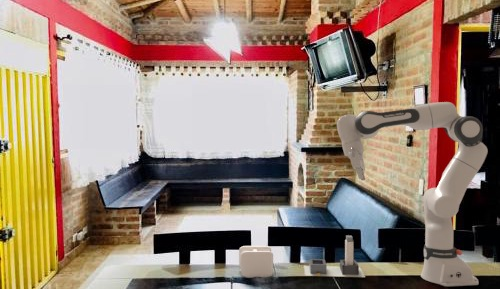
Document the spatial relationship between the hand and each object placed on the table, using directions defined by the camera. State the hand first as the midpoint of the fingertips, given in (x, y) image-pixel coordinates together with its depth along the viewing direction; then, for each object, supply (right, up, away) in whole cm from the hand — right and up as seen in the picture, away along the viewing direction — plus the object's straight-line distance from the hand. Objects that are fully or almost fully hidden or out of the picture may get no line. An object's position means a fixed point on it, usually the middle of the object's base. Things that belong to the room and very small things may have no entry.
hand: (362, 179), depth 181 cm
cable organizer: (-47, -43, +5) cm, 64 cm away
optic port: (-19, -42, +5) cm, 46 cm away
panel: (-12, -43, +5) cm, 45 cm away
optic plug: (-5, -42, +4) cm, 42 cm away
